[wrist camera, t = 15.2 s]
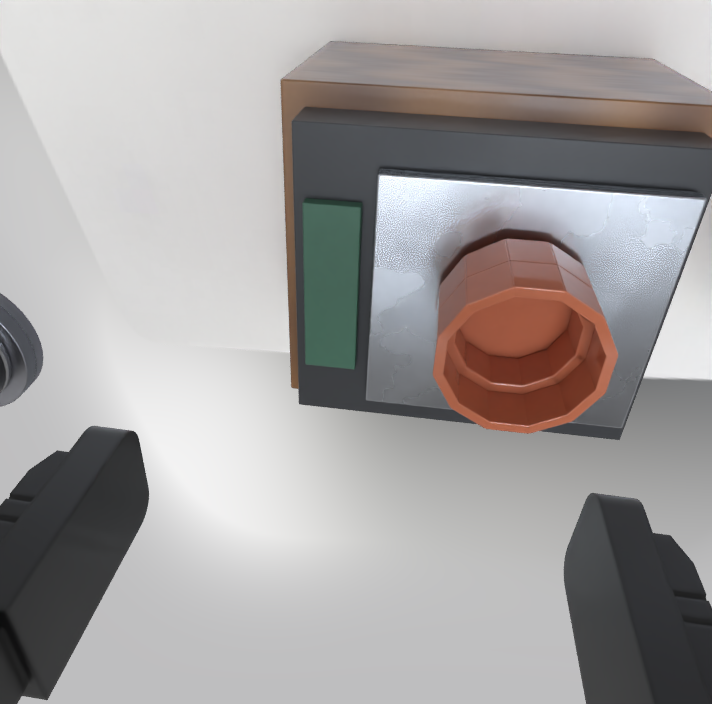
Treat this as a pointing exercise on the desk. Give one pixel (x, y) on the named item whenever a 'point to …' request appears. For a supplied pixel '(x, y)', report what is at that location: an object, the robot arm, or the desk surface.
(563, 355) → the bowl
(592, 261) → the scale pan
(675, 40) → the desk surface
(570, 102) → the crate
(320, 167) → the scale
